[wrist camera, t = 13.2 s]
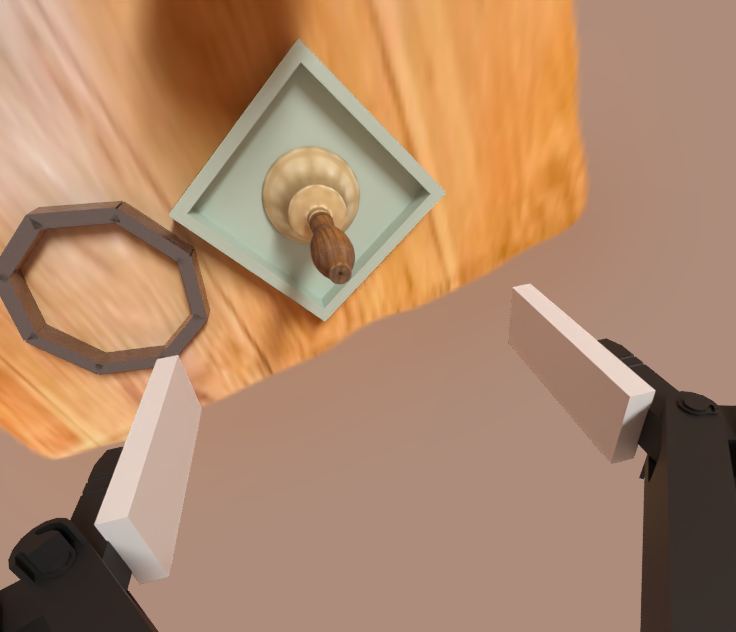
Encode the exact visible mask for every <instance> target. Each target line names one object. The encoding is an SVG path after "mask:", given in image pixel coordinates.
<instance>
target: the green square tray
mask: <svg viewBox="0 0 736 632" xmlns="http://www.w3.org/2000/svg"><path fill="white" fill-rule="evenodd" d="M304 146H316V147H322V148H325V149H328V150H331V151H332V152H334V153H336V154H338V155H339V156H340V157H342V158H343V159H344V160H345V161H346V162H347V163H348V165H349V166H350V167H351V168H352V170H353V172H354V174H355V176H356V178H357V181H358V185H359V190H360V202H359V208H358V211H357V214H356V216H355V218H354V220H353V222H352V224H351V225H350V226H349V228H348V229H347V230H346V231H345V232H344V233H345V234H346V235H347V237H348V238H349V239H350V241H351V243H352V245H353V248H354V252H355V263H354V267H353V270H352V276H351V279H350V280H349V281H348V282H346V283H345V284H335V283H333V282H332V281H331V280H330V279H329V278H327V277H325V276H323V275H322V274H321V273H320V272H319V271H318V270H317V268H316V267H315V265H314V263H313V260H312V257H311V250H310V244H302V243H298V242H295V241H292V240H290V239H288V238H286V237H285V236H283V235H282V234H281V233H280V232H278V231H277V230H276V229H275V227H274V226H273V225H272V224H271V222H270V221H269V219H268V217H267V215H266V213H265V210H264V207H263V202H262V186H263V182H264V179H265V176H266V174H267V172H268V170H269V168H270V167H271V165H272V164H273V163H274V162H275V161H276V160H277V159H278V158H279V157H280V156H281V155H283V154H284V153H286V152H288V151H290V150H292V149H295V148H299V147H304ZM445 194H446V192H445V191H444V190H443V189H442V188H441V186H440V185H439V184H438V183H437V182H436V181H435V180H434V179H433V178H432V177H431V176H430V175H429V174H428V173H427V172H426V171H425V170H424V169H423V168H422V167H421V166H420V165H419V163H418V162H417V161H416V160H415V159H414V158H413V157H412V156H411V155H410V154H409V153H408V152H407V151H406V150H405V149H404V148H403V147H402V146H401V145H400V144H399V143H398V142H397V140H396V139H395V138H394V137H393V136H392V135H391V134H390V133H389V132H388V131H387V130H386V129H385V128H384V127H383V126H382V125H381V124H380V123H379V122H378V121H377V120H376V119H375V117H374V116H373V115H372V114H371V113H370V112H369V111H368V110H367V109H366V108H365V107H364V106H363V105H362V104H361V103H360V102H359V101H358V100H357V99H356V98H355V97H354V96H353V94H352V93H351V92H350V91H349V90H348V89H347V88H346V87H345V86H344V85H343V84H342V83H341V82H340V81H339V80H338V79H337V78H336V77H335V76H334V75H333V74H332V73H331V72H330V70H329V69H328V68H327V67H326V66H325V65H324V64H323V63H322V62H321V61H320V60H319V59H318V58H317V57H316V56H315V55H314V54H313V53H312V52H311V51H310V50H309V49H308V47H307V46H306V45H305V44H304V43H303V42H302V41H301V40H300V39H299V38H298V39H297V40H296V41H295V43H294V44H293V45H292V47H291V48H290V49H289V51H288V52H287V54H286V55H285V56H284V58H283V59H282V60H281V62H280V63H279V64H278V66H277V67H276V69H275V70H274V71H273V73H272V74H271V75H270V77H269V78H268V79H267V81H266V82H265V84H264V85H263V86H262V88H261V89H260V90H259V92H258V93H257V94H256V96H255V97H254V99H253V100H252V101H251V103H250V104H249V105H248V107H247V108H246V109H245V111H244V112H243V113H242V115H241V116H240V118H239V119H238V120H237V122H236V123H235V124H234V126H233V127H232V128H231V130H230V131H229V133H228V134H227V135H226V137H225V138H224V139H223V141H222V142H221V143H220V145H219V146H218V148H217V149H216V150H215V152H214V153H213V154H212V156H211V157H210V158H209V160H208V161H207V163H206V164H205V165H204V167H203V168H202V169H201V171H200V172H199V173H198V175H197V176H196V177H195V179H194V180H193V182H192V183H191V184H190V186H189V187H188V188H187V190H186V191H185V192H184V194H183V195H182V197H181V198H180V199H179V201H178V202H177V203H176V205H175V206H174V208H173V209H172V211H171V212H170V213H169V215H168V216H170V217H171V218H173V219H174V220H176V221H177V222H178V223H180V224H181V225H183V226H184V227H186V228H187V229H189V230H190V231H192V232H193V233H195V234H196V235H198V236H199V237H201V238H202V239H204V240H205V241H207V242H208V243H210V244H211V245H212V246H214V247H215V248H217V249H218V250H220V251H221V252H223V253H224V254H226V255H227V256H229V257H230V258H232V259H233V260H235V261H236V262H238V263H239V264H241V265H242V266H244V267H245V268H246V269H248V270H249V271H251V272H252V273H254V274H255V275H257V276H258V277H260V278H261V279H263V280H264V281H266V282H267V283H269V284H270V285H272V286H273V287H275V288H276V289H278V290H279V291H280V292H282V293H283V294H285V295H286V296H288V297H289V298H291V299H292V300H294V301H295V302H297V303H298V304H300V305H301V306H303V307H304V308H306V309H307V310H309V311H310V312H312V313H313V314H314V315H316V316H317V317H319V318H320V319H322V320H323V321H326V320H327V319H328V318H329V317H330V316H331V315H332V314H333V313H334V312H335V311H336V310H337V308H338V307H339V306H340V305H341V304H342V303H343V302H344V301H345V300H346V299H347V298H348V297H349V296H350V295H351V294H352V293H353V291H354V290H355V289H356V288H357V287H358V286H359V285H360V284H361V283H362V282H363V281H364V280H365V279H366V278H367V277H368V275H369V274H370V273H371V272H372V271H373V270H374V269H375V268H376V267H377V266H378V265H379V264H380V263H381V262H382V261H383V260H384V258H385V257H386V256H387V255H388V254H389V253H390V252H391V251H392V250H393V249H394V248H395V247H396V246H397V245H398V244H399V242H400V241H401V240H402V239H403V238H404V237H405V236H406V235H407V234H408V233H409V232H410V231H411V230H412V229H413V228H414V227H415V225H416V224H417V223H418V222H419V221H420V220H421V219H422V218H423V217H424V216H425V215H426V214H427V213H428V212H429V211H430V210H431V208H432V207H433V206H434V205H435V204H436V203H437V202H438V201H439V200H440V199H441V198H442V197H443V196H444V195H445Z"/></svg>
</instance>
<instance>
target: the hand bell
mask: <svg viewBox="0 0 736 632" xmlns="http://www.w3.org/2000/svg"><path fill="white" fill-rule="evenodd" d="M262 202H263V207H264V210H265V213H266V215H267V217H268V219H269V221H270V222H271V224H272V225H273V226H274V227H275V229H276V230H277V231H278V232H280V233H281V234H282V235H283V236H285V237H286V238H288V239H290V240H292V241H295V242H298V243H302V244H310V250H311V257H312V260H313V263H314V265H315V267H316V268H317V270H318V271H319V272H320V273H321V274H322V275H323V276H325V277H327V278H329V279H330V280H331V281H332V282H333V283H335V284H345V283H346V282H348V281H349V280H350V279H351V276H352V270H353V267H354V263H355V252H354V248H353V245H352V243H351V241H350V239H349V238H348V237H347V235H346V234H345V233H344V232H345V231H346V230H347V229H348V228H349V226H350V225H351V224H352V222H353V220H354V218H355V216H356V214H357V211H358V208H359V202H360V190H359V185H358V181H357V178H356V176H355V174H354V172H353V170H352V168H351V167H350V166H349V165H348V163H347V162H346V161H345V160H344V159H343V158H342V157H340V156H339V155H338V154H336V153H334V152H332V151H331V150H328V149H325V148H322V147H316V146H304V147H299V148H295V149H292V150H290V151H288V152H286V153H284V154H283V155H281V156H280V157H279V158H278V159H277V160H276V161H275V162H274V163H273V164H272V165H271V167H270V168H269V170H268V172H267V174H266V176H265V179H264V182H263V186H262Z"/></svg>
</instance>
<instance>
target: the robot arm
mask: <svg viewBox="0 0 736 632" xmlns="http://www.w3.org/2000/svg"><path fill="white" fill-rule="evenodd" d="M510 314H511V315H510V327H509V340H508V343H509V344H510V345H511V346H512V348H513V349H514V350H515V351H516V352H517V354H518V355H519V356H520V357H521V358H522V360H523V361H524V362H525V363H526V364H527V366H528V367H529V368H530V369H531V370H532V371H533V373H535V375H536V376H537V377H538V379H539V380H540V381H541V382H542V383H543V384H544V386H545V387H546V388H547V389H548V390H549V391H550V393H551V394H552V395H553V396H554V397H555V399H556V400H557V401H558V402H559V403H560V404H561V406H562V407H563V408H564V409H565V410H566V412H567V413H568V414H569V415H570V416H571V417H572V418H573V420H574V421H575V422H576V423H577V425H578V426H579V427H580V428H581V429H582V430H583V432H584V433H585V434H586V435H587V436H588V438H589V439H590V440H591V441H592V442H593V443H594V445H595V446H596V447H597V448H598V449H599V451H600V452H601V453H602V454H603V455H604V456H605V458H606V459H607V460H608V461H609V462H610V463H611V464H613V463H617V462H620V461H624V460H628V459H632V458H634V456H635V453H636V450H637V447H638V444H639V445H640V446H641V447H642V448H643V449H644V451H645V452H646V453H647V457H646V460H645V463H644V466H643V469H642V472H641V475H640V478H641V479H644V477H645V481H644V483H645V484H644V517H643V518H644V519H643V520H644V521H643V555H642V592H641V594H642V595H641V629H640V632H736V406H720V405H717V404H716V403H715V402H713V401H712V400H710V399H708V398H707V397H705V396H703V395H699V394H696V393H692V392H684V391H681V392H679V391H678V390H676V389H675V388H674V387H673V386H671V385H670V384H669V383H668V382H666V381H665V380H664V379H663V378H662V377H660V376H659V375H658V374H657V373H655V372H654V371H653V370H652V369H650V368H649V367H648V366H646V365H644V364H643V362H641V361H640V360H639V359H638V358H637V357H634V355H633V354H632V353H630V352H629V351H628V350H627V349H626V348H624V347H623V346H622V345H619V344H617V343H615V342H613V341H610V340H608V339H602V340H598V341H597V340H596V339H594V338H593V337H592V336H591V335H590V334H589V333H587V332H586V331H585V330H584V329H583V328H581V327H580V326H579V325H578V324H577V323H576V322H575V321H573V320H572V319H571V318H570V317H569V316H567V315H566V314H565V313H564V312H563V311H562V310H561V309H559V308H558V307H557V306H556V305H555V304H553V303H552V302H551V301H550V300H549V299H547V298H546V297H545V296H544V295H543V294H542V293H540V292H539V291H538V290H537V289H536V288H535V287H534V286H532V285H531V284H527V285H521V286H517V287H513V288H512V300H511V313H510ZM201 412H202V408H201V406H200V403H199V401H198V399H197V396H196V394H195V392H194V390H193V387H192V385H191V383H190V380H189V378H188V376H187V374H186V371H185V369H184V367H183V364H182V362H181V360H180V358H179V355H176V356H171V357H166V358H161V359H157V361H156V363H155V366H154V368H153V371H152V374H151V376H150V379H149V382H148V384H147V387H146V389H145V392H144V395H143V397H142V400H141V403H140V405H139V408H138V411H137V413H136V416H135V418H134V421H133V424H132V426H131V429H130V432H129V434H128V437H127V439H126V442H125V445H124V446H123V447H119V448H114V449H110V450H107V451H106V452H105V453H104V454H103V456H102V457H101V458H100V459H99V460H98V461H97V463H96V464H95V465H94V467H93V470H92V472H91V474H90V476H89V479H88V483H86V486H85V488H84V490H83V495H82V496H81V497H80V499H79V501H78V504H77V506H76V508H75V511H74V513H73V515H72V518H71V520H68V519H67V518H55V519H52V520H49V521H46V522H44V523H42V524H40V525H39V526H37V527H35V528H33V529H32V530H31V531H30V532H29V533H27V534H26V535H25V536H24V537H23V538H21V540H20V541H19V543H18V544H17V545H16V546H15V547H14V549H13V550H12V553H11V555H10V558H9V569H10V570H11V571H12V572H13V573H14V574H15V575H16V576H17V577H18V578H19V579H21V580H19V581H18V582H16V583H14V584H12V585H10V586H8V587H6V588H4V589H2V590H0V632H158V630H157V629H156V628H155V626H154V625H153V623H152V622H151V621H150V620H149V618H148V617H147V616H146V614H145V612H144V611H143V610H142V608H141V607H140V606H139V604H138V603H137V601H136V600H135V599H134V598H133V596H132V595H131V593H130V592H129V591H128V590H127V589H128V585H129V582H130V578H131V574H133V576H134V577H135V578H136V580H137V581H138V582H139V583H140V584H144V583H148V582H152V581H156V580H160V579H163V578H167V577H169V576H170V570H171V566H172V561H173V556H174V550H175V545H176V540H177V535H178V530H179V525H180V519H181V515H182V509H183V504H184V499H185V494H186V488H187V484H188V478H189V473H190V469H191V463H192V458H193V453H194V448H195V443H196V438H197V432H198V427H199V423H200V417H201Z"/></svg>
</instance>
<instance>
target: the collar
mask: <svg viewBox="0 0 736 632" xmlns="http://www.w3.org/2000/svg"><path fill="white" fill-rule="evenodd" d="M107 223H116V224H118V225H119V226H121V227H122V228H124V229H126V230H127V231H129V232H130V233H132V234H134V235H135V236H137V237H138V238H140V239H142V240H143V241H145V242H146V243H148V244H149V245H151V246H153V247H154V248H156V249H157V250H159V251H161V252H162V253H164V254H165V255H167V256H169V257H170V258H172V259H173V260H175V261H177V262H178V265H179V269H180V272H181V276H182V279H183V283H184V287H185V290H186V294H187V297H188V301H189V304H190V308H191V314H190V315H189V316H188V317H187V319H186V320H185V321H184V322H183V324H182V325H181V326H180V327H179V328H178V330H177V331H176V332H175V333H174V335H173V336H172V337H171V338H170V339H169V341H168V342H167V343H166V344H165V345H164V346H156V347H148V348H140V349H132V350H124V351H116V352H108V353H105V352H103V351H101V350H99V349H97V348H95V347H93V346H91V345H88V344H86V343H84V342H82V341H80V340H78V339H76V338H74V337H72V336H70V335H68V334H66V333H63V332H61V331H59V330H57V329H55V328H53V327H51V326H49V325H47V324H46V323H45V321H44V319H43V317H42V315H41V313H40V311H39V308H38V306H37V304H36V302H35V300H34V298H33V296H32V294H31V292H30V290H29V288H28V286H27V284H26V282H25V280H24V278H23V276H22V274H21V272H20V268H21V267H22V265H23V264H24V262H25V261H26V259H27V258H28V256H29V254H30V253H31V251H32V250H33V248H34V247H35V245H36V244H37V242H38V240H39V239H40V237H41V236H42V234H43V233H44V231H45V230H46V228H58V227H71V226H83V225H95V224H107ZM0 297H1V299H2V301H3V302H4V304H5V306H6V308H7V310H8V312H9V314H10V316H11V318H12V319H13V321H14V323H15V325H16V327H17V329H18V331H19V333H20V334H21V336H22V338H23V340H26V342H27V343H29V344H31V345H33V346H36V347H38V348H40V349H42V350H44V351H47V352H49V353H51V354H53V355H55V356H58V357H60V358H62V359H64V360H66V361H69V362H71V363H73V364H75V365H78V366H80V367H82V368H84V369H86V370H89V371H91V372H93V373H95V374H98V373H99V375H101V374H108V373H116V372H123V371H131V370H139V369H146V368H154V366H155V363H156V361H157V359H161V358H166V357H171V356H176V355H179V353H180V352H181V351H182V350H183V349H184V347H185V346H186V345H187V344H188V343H189V341H190V340H191V339H192V338H193V337H194V335H195V334H196V333H197V332H198V331H199V329H200V328H201V327H202V326H203V325H204V323H205V322H206V321H207V319H208V315H209V311H210V308H209V304H208V300H207V296H206V292H205V288H204V284H203V280H202V276H201V272H200V268H199V264H198V260H197V256H196V252H195V249H193V247H192V246H191V245H189V244H188V243H186V242H185V241H183V240H182V239H180V238H179V237H177V236H176V235H174V234H173V233H171V232H170V231H168V230H167V229H165V228H164V227H162V226H161V225H159V224H158V223H156V222H155V221H153V220H152V219H150V218H148V217H147V216H145V215H144V214H142V213H141V212H139V211H138V210H136V209H135V208H133V207H132V206H130V205H129V204H127V203H126V202H124V203H123V202H122V201H117V202H104V203H91V204H78V205H65V206H52V207H39V208H37V209H35V210H34V211H32V212H30V213H29V214H27V215H26V216H25V217H24V219H23V221H22V222H21V224H20V225H19V227H18V229H17V230H16V232H15V233H14V235H13V237H12V238H11V240H10V242H9V243H8V245H7V246H6V248H5V250H4V251H3V253H2V254H1V256H0Z"/></svg>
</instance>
